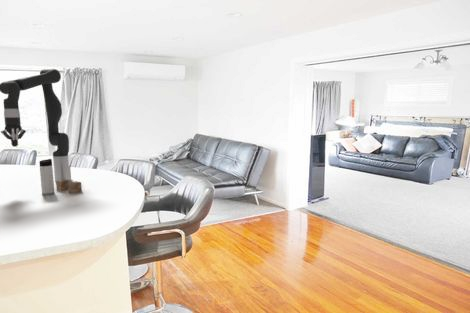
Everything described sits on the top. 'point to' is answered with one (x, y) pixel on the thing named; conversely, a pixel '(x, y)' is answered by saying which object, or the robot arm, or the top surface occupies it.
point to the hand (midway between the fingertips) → (15, 146)
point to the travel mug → (47, 177)
